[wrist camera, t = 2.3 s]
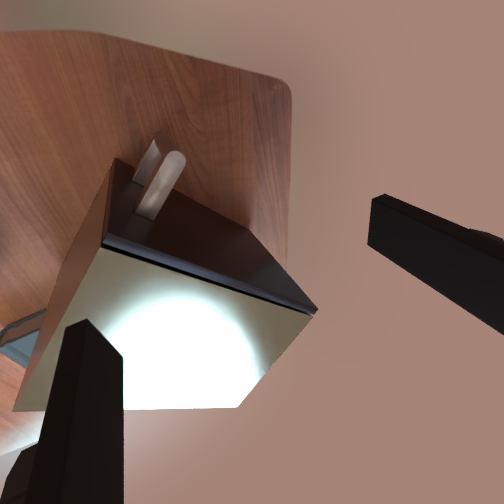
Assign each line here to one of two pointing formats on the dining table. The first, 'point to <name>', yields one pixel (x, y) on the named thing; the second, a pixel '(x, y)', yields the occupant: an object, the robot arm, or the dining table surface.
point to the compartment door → (188, 229)
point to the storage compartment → (158, 326)
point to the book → (21, 338)
